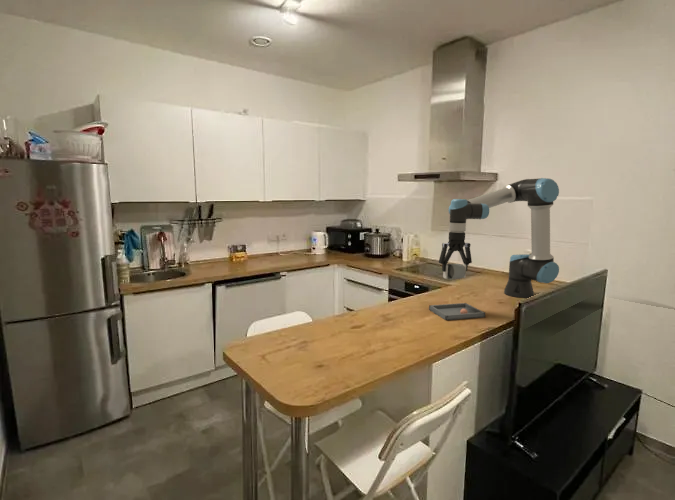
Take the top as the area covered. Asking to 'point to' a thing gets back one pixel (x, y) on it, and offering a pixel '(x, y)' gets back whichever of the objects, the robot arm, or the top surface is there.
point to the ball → (463, 311)
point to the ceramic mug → (456, 271)
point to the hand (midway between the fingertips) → (454, 277)
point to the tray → (456, 311)
